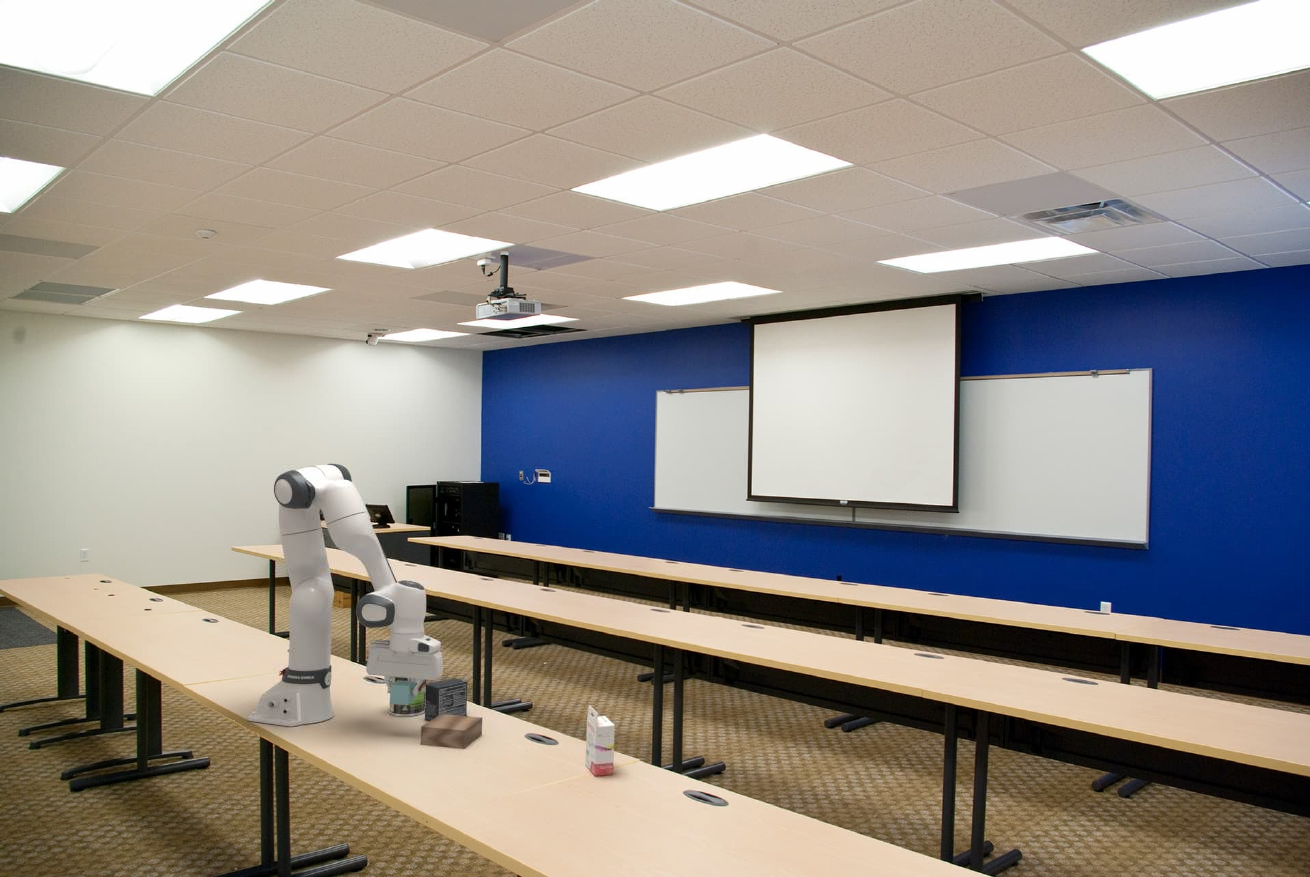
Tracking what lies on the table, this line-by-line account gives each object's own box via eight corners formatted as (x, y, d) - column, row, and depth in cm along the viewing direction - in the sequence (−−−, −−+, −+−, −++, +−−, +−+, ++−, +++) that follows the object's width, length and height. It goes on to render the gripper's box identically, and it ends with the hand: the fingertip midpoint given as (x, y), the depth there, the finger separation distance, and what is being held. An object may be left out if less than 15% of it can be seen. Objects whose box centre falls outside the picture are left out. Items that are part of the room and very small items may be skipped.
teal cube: (389, 703, 227) (390, 684, 227) (396, 698, 232) (398, 680, 232) (407, 705, 226) (409, 686, 226) (414, 700, 231) (415, 681, 231)
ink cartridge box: (614, 774, 204) (616, 712, 204) (594, 776, 202) (596, 714, 203) (603, 763, 212) (605, 703, 212) (584, 764, 210) (586, 704, 211)
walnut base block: (420, 746, 221) (421, 726, 221) (440, 732, 233) (440, 713, 233) (463, 750, 219) (464, 730, 219) (481, 736, 231) (482, 717, 231)
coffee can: (432, 711, 251) (434, 663, 251) (403, 719, 243) (405, 669, 243) (410, 705, 257) (412, 658, 258) (381, 712, 249) (383, 663, 249)
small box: (453, 712, 251) (455, 676, 251) (467, 717, 247) (469, 680, 247) (423, 720, 242) (424, 682, 243) (437, 725, 238) (438, 687, 239)
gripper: (364, 641, 227) (360, 693, 227) (439, 647, 226) (435, 700, 225) (374, 636, 234) (370, 687, 233) (446, 642, 232) (443, 694, 231)
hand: (402, 693), depth 229 cm, fingers closed on teal cube, 5 cm apart
